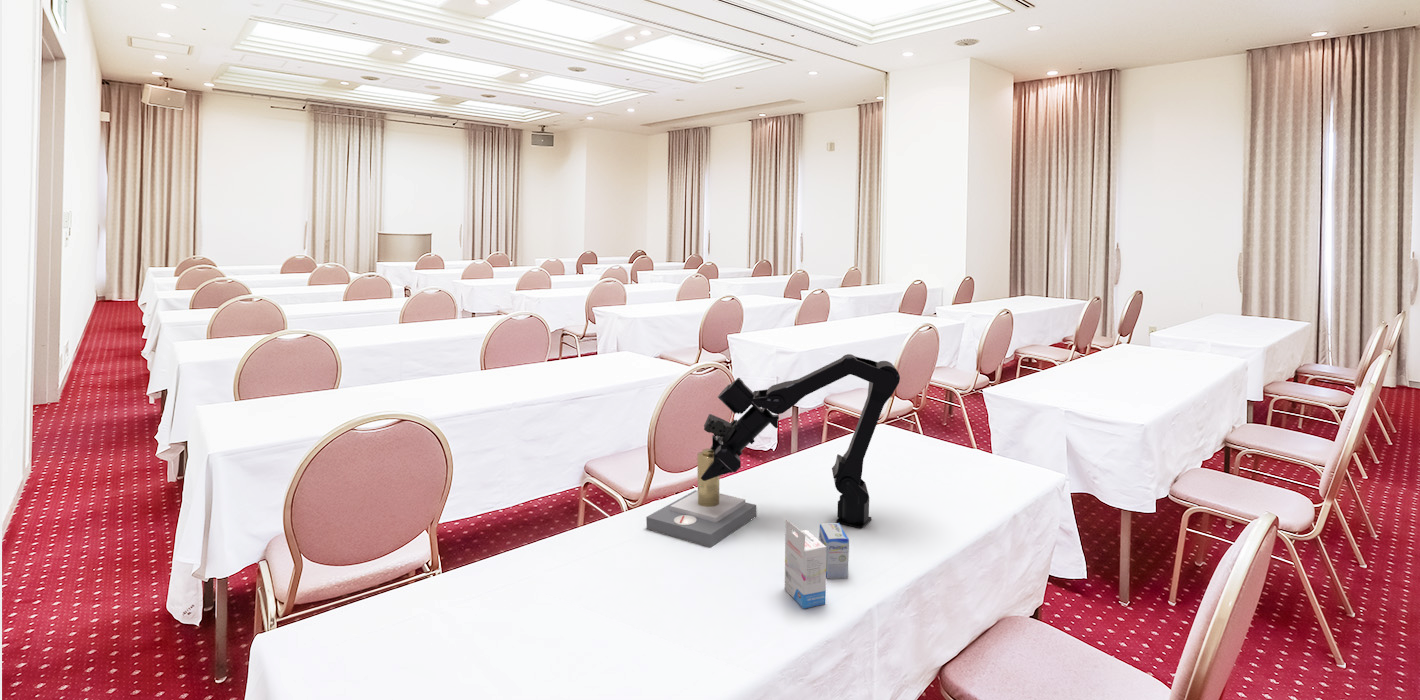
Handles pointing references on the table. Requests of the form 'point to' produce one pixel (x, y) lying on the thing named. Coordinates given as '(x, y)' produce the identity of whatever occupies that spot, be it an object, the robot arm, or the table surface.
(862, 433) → the robot arm
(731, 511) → the scale
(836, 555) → the medicine box
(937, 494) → the table surface
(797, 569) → the ink box
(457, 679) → the table surface
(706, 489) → the brass weight
